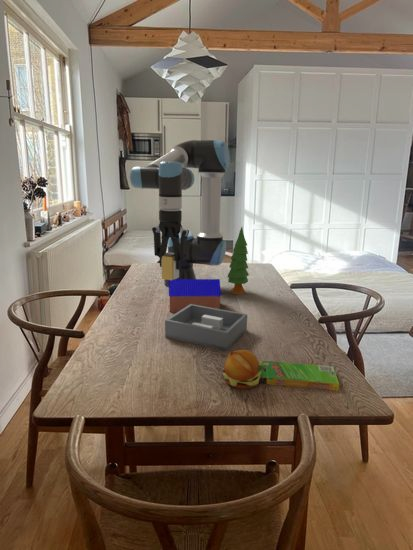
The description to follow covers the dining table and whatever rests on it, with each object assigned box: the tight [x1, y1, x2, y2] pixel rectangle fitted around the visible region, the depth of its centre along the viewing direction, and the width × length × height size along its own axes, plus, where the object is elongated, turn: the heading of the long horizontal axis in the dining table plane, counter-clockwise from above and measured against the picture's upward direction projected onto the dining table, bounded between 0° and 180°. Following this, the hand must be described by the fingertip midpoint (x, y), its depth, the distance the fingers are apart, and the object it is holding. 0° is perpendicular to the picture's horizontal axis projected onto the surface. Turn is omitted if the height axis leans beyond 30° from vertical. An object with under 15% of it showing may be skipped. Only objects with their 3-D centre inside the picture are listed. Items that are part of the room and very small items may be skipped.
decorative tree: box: [227, 226, 250, 295], centre depth 182 cm, size 10×9×30 cm
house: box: [168, 278, 222, 313], centre depth 165 cm, size 12×20×12 cm, turn 95°
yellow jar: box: [161, 251, 175, 280], centre depth 143 cm, size 4×4×9 cm
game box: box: [259, 360, 340, 391], centre depth 113 cm, size 3×10×20 cm
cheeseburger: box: [222, 349, 264, 390], centre depth 109 cm, size 10×11×10 cm
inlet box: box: [164, 304, 248, 351], centre depth 140 cm, size 22×18×6 cm
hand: (170, 277), depth 144 cm, fingers closed on yellow jar, 4 cm apart
